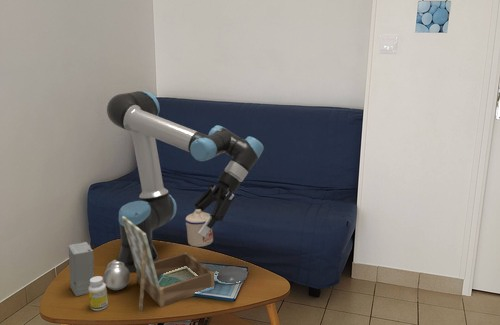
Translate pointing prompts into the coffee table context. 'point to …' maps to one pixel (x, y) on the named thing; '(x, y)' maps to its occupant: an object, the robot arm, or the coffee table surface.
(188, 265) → the open wooden keepsake box
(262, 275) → the coffee table surface
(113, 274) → the silver metal rounded piece
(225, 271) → the trivet
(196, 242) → the teacup with lid
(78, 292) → the skincare box
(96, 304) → the supplement bottle
